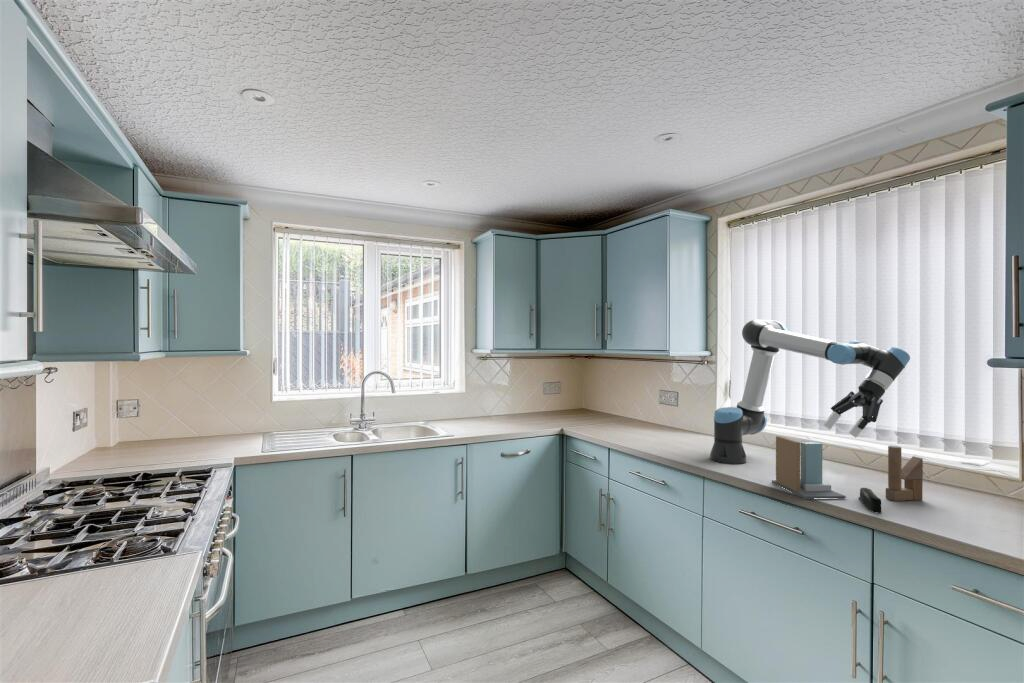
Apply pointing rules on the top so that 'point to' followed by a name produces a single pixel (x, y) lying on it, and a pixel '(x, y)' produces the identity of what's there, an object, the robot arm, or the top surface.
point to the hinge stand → (796, 472)
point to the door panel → (811, 463)
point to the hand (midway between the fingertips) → (838, 431)
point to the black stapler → (870, 500)
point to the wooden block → (904, 477)
